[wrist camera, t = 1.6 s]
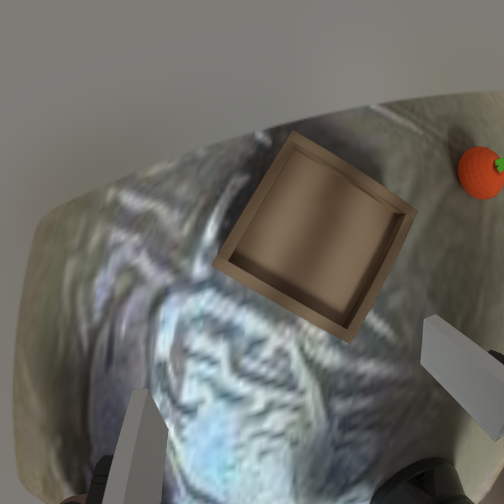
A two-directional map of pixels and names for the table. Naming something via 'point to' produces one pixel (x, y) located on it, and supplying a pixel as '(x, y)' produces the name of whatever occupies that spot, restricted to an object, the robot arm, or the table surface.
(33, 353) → the table surface
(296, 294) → the walnut tray
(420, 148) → the table surface
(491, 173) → the clementine
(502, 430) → the robot arm
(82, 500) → the ceramic pitcher
